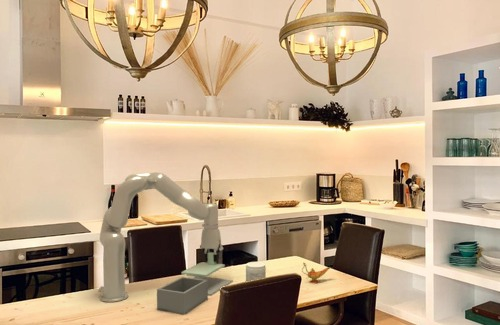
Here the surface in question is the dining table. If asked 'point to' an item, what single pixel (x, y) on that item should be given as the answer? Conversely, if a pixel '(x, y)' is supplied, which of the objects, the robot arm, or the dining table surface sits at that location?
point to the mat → (215, 284)
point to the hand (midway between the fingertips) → (211, 260)
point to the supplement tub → (255, 271)
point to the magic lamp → (315, 274)
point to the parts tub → (182, 295)
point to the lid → (204, 267)
